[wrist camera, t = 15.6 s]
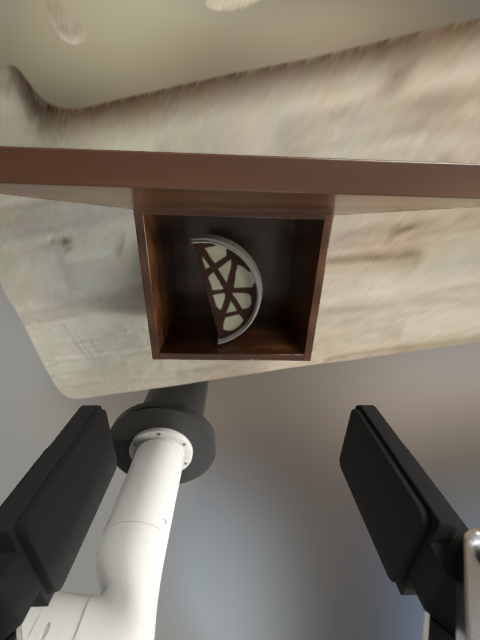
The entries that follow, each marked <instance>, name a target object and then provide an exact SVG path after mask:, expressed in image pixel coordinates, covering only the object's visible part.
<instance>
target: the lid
mask: <svg viewBox="0 0 480 640" xmlns="http://www.w3.org/2000/svg"><path fill="white" fill-rule="evenodd" d="M0 194H6V195H15V196H24V197H32V198H41V199H49V200H58V201H66V202H75V203H83V204H92V205H100V206H109V207H117V208H126V209H143V210H177V211H211V212H245V213H280V214H314V215H347V214H364V213H382V212H399V211H417V210H434V209H452V208H469V207H480V164H470V163H443V162H416V161H389V160H362V159H335V158H308V157H281V156H254V155H228V154H201V153H174V152H147V151H120V150H93V149H66V148H39V147H12V146H0Z"/></svg>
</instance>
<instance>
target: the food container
mask: <svg viewBox="0 0 480 640" xmlns="http://www.w3.org/2000/svg"><path fill="white" fill-rule="evenodd" d="M191 240H192V242H191V244H193V243H195V244H194V245H195V249H196V253H197V256H198V259H199V263H200V267H201V271H202V275H203V279H204V283H205V287H206V292H207V296H208V299H209V303H210V306H211V310H212V314H213V317H214V321H215V325H216V329H217V333H218V344H222V343H225V342H228V341H230V340H232V339H234V338H236V337H237V336H239V335H240V334H241V333H243V332H244V331H245V330H246V329H247V328H248V327H249V326H250V325H251V323H252V322H253V320H254V319H255V317H256V315H257V312H258V310H259V307H260V304H261V300H262V291H263V288H262V280H261V276H260V272H259V270H258V268H257V265H256V264H255V262H254V260H253V259H252V257H251V256H250V255H249V254H248V253H247V252H246V251H245V250H244V249H243V248H242V247H241V246H239V245H238V244H236V243H235V242H233V241H231V240H229V239H227V238H224V237H221V236H217V235H212V234H197V235H192V238H191Z"/></svg>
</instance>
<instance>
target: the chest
mask: <svg viewBox="0 0 480 640" xmlns="http://www.w3.org/2000/svg"><path fill="white" fill-rule="evenodd" d="M133 210H134V218H135V225H136V233H137V241H138V249H139V256H140V264H141V272H142V280H143V288H144V295H145V303H146V311H147V319H148V326H149V334H150V342H151V350H152V357H153V359H179V360H288V361H310V360H311V353H312V347H313V341H314V335H315V329H316V322H317V316H318V310H319V304H320V298H321V291H322V285H323V279H324V273H325V267H326V260H327V254H328V248H329V242H330V236H331V229H332V223H333V217H334V215H314V214H280V213H245V212H211V211H177V210H143V209H133ZM197 234H212V235H217V236H221V237H224V238H227V239H229V240H231V241H233V242H235V243H236V244H238V245H239V246H241V247H242V248H243V249H244V250H245V251H246V252H247V253H248V254H249V255H250V256H251V257H252V259H253V260H254V262H255V264H256V265H257V268H258V270H259V272H260V276H261V280H262V288H263V291H262V300H261V304H260V307H259V310H258V312H257V315H256V317H255V319H254V320H253V322H252V323H251V325H250V326H249V327H248V328H247V329H246V330H245V331H244V332H243V333H241V334H240V335H239V336H237V337H236V338H234V339H232V340H230V341H228V342H225V343H222V344H218V333H217V329H216V325H215V321H214V317H213V314H212V310H211V306H210V303H209V299H208V296H207V292H206V287H205V283H204V279H203V275H202V271H201V267H200V263H199V259H198V256H197V253H196V249H195V245H194V244H195V243H193V244H191V242H192V240H191V238H192V235H197Z"/></svg>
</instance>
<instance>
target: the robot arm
mask: <svg viewBox="0 0 480 640" xmlns="http://www.w3.org/2000/svg"><path fill="white" fill-rule="evenodd" d="M129 454H130V457H131V459H132V463H131V466H130V468H129V471H128V473H127V476H126V478H125V481H124V483H123V486H122V488H121V491H120V493H119V496H118V498H117V501H116V503H115V506H114V508H113V510H112V513H111V515H110V518H109V520H108V523H107V525H106V528H105V531H104V533H103V535H102V538H101V541H100V543H99V546H98V550H97V555H96V572H97V578H98V583H99V588H100V592H101V595H85V594H78V593H71V592H64V591H59V590H60V589H61V588H62V586H63V584H64V582H65V580H66V578H67V575H68V574H69V571H70V569H71V567H72V565H73V563H74V561H75V558H76V556H77V554H78V552H79V549H80V547H81V545H82V543H83V541H84V538H85V536H86V534H87V532H88V530H89V528H90V525H91V523H92V521H93V519H94V516H95V514H96V512H97V510H98V507H99V505H100V503H101V501H102V499H103V497H104V494H105V492H106V490H107V488H108V486H109V483H110V481H111V479H112V477H113V475H114V472H115V470H116V466H117V458H116V454H115V449H114V445H113V441H112V436H111V432H110V427H109V423H108V418H107V414H106V411H105V410H102V408H101V406H97V405H93V406H81V407H80V408H79V409H78V411H77V412H76V413H75V415H74V416H73V417H72V418H71V420H70V421H69V422H68V423H67V425H66V426H65V427H64V428H63V430H62V431H61V432H60V434H59V435H58V436H57V437H56V439H55V440H54V441H53V443H52V444H51V445H50V446H49V447H48V448H47V449H46V450H45V451H44V452H43V454H42V455H41V456H40V457H39V459H38V460H37V461H36V462H35V463H34V465H33V466H32V467H31V469H30V470H29V471H28V472H27V473H26V475H25V476H24V477H23V478H22V480H21V481H20V482H19V484H18V485H17V486H16V487H15V489H14V490H13V491H12V492H11V494H10V495H9V496H8V497H7V499H6V500H5V501H4V503H3V504H2V505H1V506H0V640H154V636H155V623H156V613H157V603H158V595H159V588H160V581H161V575H162V569H163V564H164V558H165V553H166V548H167V543H168V538H169V533H170V528H171V523H172V518H173V513H174V508H175V502H176V497H177V492H178V487H179V482H180V477H181V472H182V470H183V469H185V468H186V467H187V466H188V465H189V463H190V462H191V459H192V455H193V448H192V445H191V443H190V441H189V440H188V439H187V438H186V437H185V436H184V435H183V434H181V433H179V432H177V431H175V430H172V429H169V428H160V427H157V428H150V429H146V430H144V431H142V432H140V433H138V434H137V435H136V436H135V437H134V438H133V440H132V442H131V445H130V447H129ZM340 466H341V469H342V472H343V474H344V476H345V479H346V481H347V483H348V485H349V488H350V490H351V492H352V494H353V497H354V499H355V502H356V504H357V506H358V509H359V511H360V513H361V515H362V518H363V520H364V522H365V525H366V527H367V529H368V531H369V534H370V536H371V538H372V541H373V543H374V545H375V548H376V550H377V552H378V555H379V557H380V559H381V561H382V564H383V566H384V568H385V571H386V573H387V575H388V577H389V578H390V580H391V581H392V582H396V585H397V587H398V589H399V591H400V594H401V595H417V596H418V598H419V600H420V602H421V604H422V606H423V608H424V610H425V614H424V627H423V640H480V529H477V528H475V529H468V528H467V527H466V525H465V524H464V523H463V522H462V520H461V519H460V518H459V516H458V515H457V514H456V513H455V511H454V510H453V508H452V507H451V506H450V504H449V503H448V502H447V500H446V499H445V498H444V496H443V495H442V494H441V492H440V491H439V490H438V488H437V487H436V486H435V484H434V483H433V482H432V481H431V479H430V478H429V477H428V475H427V474H426V473H425V471H424V470H423V469H422V467H421V466H420V465H419V463H418V462H417V461H416V459H415V458H414V457H413V455H412V454H411V453H410V451H409V450H408V449H407V448H406V447H405V445H404V444H403V443H402V442H401V440H400V439H399V438H398V436H397V435H396V434H395V432H394V431H393V430H392V428H391V427H390V426H389V424H388V423H387V422H386V421H385V419H384V418H383V416H382V415H381V414H380V412H379V411H378V410H377V409H376V407H375V406H373V405H357V406H356V408H355V409H353V410H352V411H351V414H350V419H349V423H348V427H347V431H346V435H345V439H344V443H343V447H342V451H341V455H340Z"/></svg>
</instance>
